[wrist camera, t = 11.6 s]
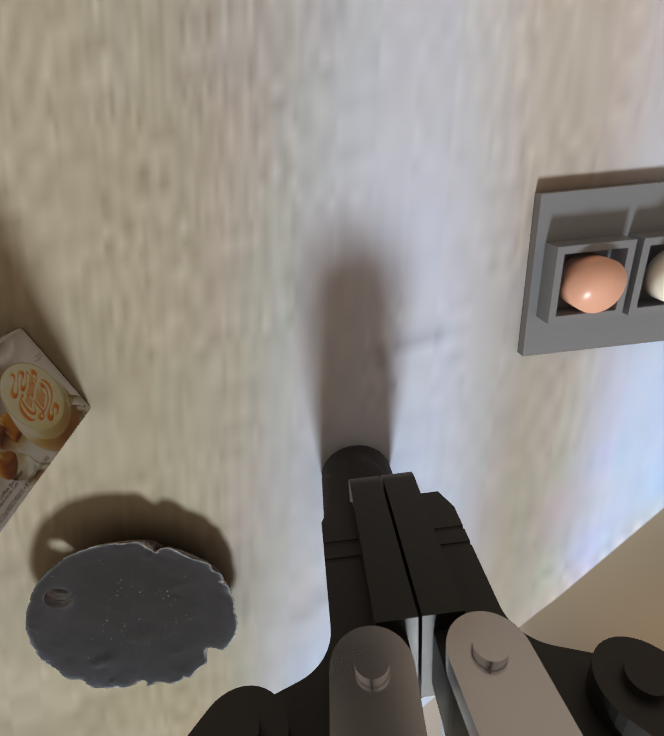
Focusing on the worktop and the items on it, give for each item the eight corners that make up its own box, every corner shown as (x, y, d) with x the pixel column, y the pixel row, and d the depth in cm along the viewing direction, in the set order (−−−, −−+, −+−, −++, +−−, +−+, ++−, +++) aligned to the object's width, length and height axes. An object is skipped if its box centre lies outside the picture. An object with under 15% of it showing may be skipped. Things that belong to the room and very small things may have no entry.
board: (-5, 568, 49) (-34, 611, 44) (168, 478, 47) (158, 513, 42) (126, 671, 58) (114, 715, 53) (276, 599, 56) (277, 638, 51)
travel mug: (379, 432, 45) (438, 620, 27) (401, 487, 48) (466, 686, 30) (308, 458, 46) (320, 658, 28) (334, 510, 49) (360, 719, 31)
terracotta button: (559, 255, 37) (576, 261, 35) (611, 249, 37) (632, 256, 35) (552, 306, 39) (568, 315, 37) (601, 301, 39) (620, 310, 37)
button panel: (535, 192, 36) (555, 196, 34) (796, 167, 37) (836, 169, 34) (517, 351, 42) (533, 365, 40) (741, 326, 43) (771, 338, 41)
